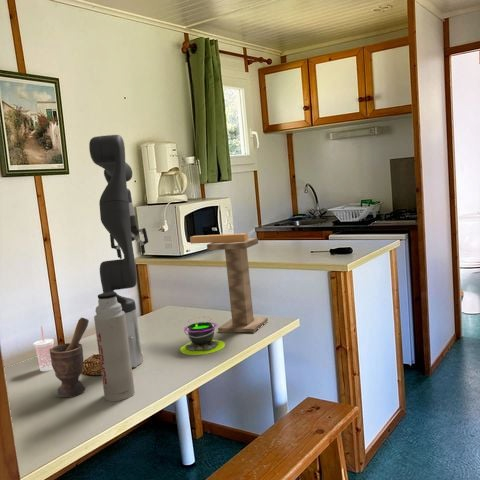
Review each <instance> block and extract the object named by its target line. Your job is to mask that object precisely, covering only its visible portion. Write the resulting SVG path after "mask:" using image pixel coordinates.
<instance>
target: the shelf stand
mask: <svg viewBox="0 0 480 480" xmlns="http://www.w3.org/2000/svg"><path fill="white" fill-rule="evenodd" d="M257 244H259V238H258V237H251V238H249V237H248V240H247V241H240V242H217V243H206V249H207V251H221V250H223V251H224V253H225V264H226V265H225V266H226V274H227V275H226V276H227V282H228V293H229V301H230V302H229V304H230V312H231V315H230V316H231V318H230V319H229V320H228V321H226V322H225V323H223V324H222V325H221V326H219V327H218V328H217V331H218V333H232V332H255V331H256V330H257V329H258V328H260V327H261V326H262V325H263V324H264V323H266V322H267V321H268V317H254V309H253V302H252V301H253V297H252V288H251V280H250V279H251V278H250V270H249V259H248V248H250V247H253V246H256V245H257ZM268 322H269V321H268ZM268 322H267V323H268ZM267 323H266V324H267ZM263 326H264V325H263ZM263 326H262V327H263ZM262 327H261V328H262ZM261 328H260V329H261ZM257 331H258V330H257ZM257 331H256V332H257ZM256 332H255V333H256Z"/></svg>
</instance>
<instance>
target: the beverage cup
mask: <svg viewBox="0 0 480 480" xmlns="http://www.w3.org/2000/svg"><path fill="white" fill-rule="evenodd" d="M43 330H44V329H43V326H40V331H41V338H42V339H39V340H37V341H34V342H33V347H34V349H35V353H36V357H37V361H38V366H39V370H40V372H49V371H52V370H54V369H53V367H52V363H51V356H50V349H51V348H53V347H54V341H55V340H54V338H45V336H44V331H43Z"/></svg>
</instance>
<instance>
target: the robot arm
mask: <svg viewBox="0 0 480 480" xmlns="http://www.w3.org/2000/svg"><path fill="white" fill-rule="evenodd" d="M88 144H89V150H88V151H89V154H90V155H89V156H90V158H91V161H92V162H93V163H94V164H95V165H96V166H98V167H100V168H102V169H103V175H104V179H105V181H106V182H107V183H106V184H107V185H106V187H104V190H103V192H102V194H101V195H100V198H99V202H98V203H99V205H98V206H99V215H100V216H99V217H100V222H101V223H102V226H103V227H104V229H105V230H106V231H107V232H108V233H109V241H110V247H111V249H113V250H116V254H117V255H116V256H117V258H119V259H111V260H105V261H104V260H103V261H101V262H100V264H99V278H100V284H101V289H102V293H107V292H115V291H118V290H125V289H132V288H135V287H136V285H137V281H138V275H137V266H136V261H135V254H134V248H133V242H134V241H136V242H137V243H139V244H140V252H141V256H144V255H145V254H146V249H145V248H146V247H145V245H146V244H148V243H149V238H148V235H147V230H146V227H142V228H139V229H138V225H137V220H136V219H137V218H136V211H135V207H134V204H133V199H132V193H131V190H130V188H128V187H127V186H128V185H127V182H129V181H131V179H132V178H133V170H132V167H131V166H130V164H129V163H128V162H127V161H126V149H125V147H126V145H125V142H124V139H123V137H122V136H121V135H120V134H109V135H107V134H106V135H99V136H94V137H92V138H90V140H89V143H88ZM139 233H140V234H141V235H143V238H144V240H142V239H141V238H140V237H139V236H138V235H139ZM115 242H116V243H117V245H116V244H115ZM122 255H123V256H122ZM116 298H117V302H118V303H120V304H121V307H122V311H124V312H125V318H126V326H127V334H128V342H129V350H130V360H131V367H132V368H137V367H138V366H139V365H141V364H142V363H143V356H142V355H143V353H142V348H141V341H140V332H139V323H138V322H139V321H138V315H137V304H136V302H135V299H133V298H130V297H125V296H122V295H119V294H118V293H117V296H116Z"/></svg>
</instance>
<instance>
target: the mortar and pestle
mask: <svg viewBox="0 0 480 480" xmlns="http://www.w3.org/2000/svg"><path fill="white" fill-rule="evenodd" d="M88 326H89V319H88V318H85V317H80V318H79V319H78V321H77V324H76V327H75V330H74V333H73V337H72V339H71V341H70V342H69V343H67V342H65V343H63V344H62V343H61V344H58V345H55V346H53V348H51V349H50V356H51V363H52V367H53V369H52V370H53V371H54V375H55V377H56V379H58V380H59V381H60V382H61V385H60V386H58V388H57V397H58V398H73V397H75V396H79V395H81V394H82V393H84V392H85V391H86V387H85V385H84V384H83V383H82V382H81V381H79V378H80V376H81V374H82V373H83V367H84V362H85V361H84V351H83V344H81V343H80V341H81V339H82V337H83V335H84V333H85V331H87V328H88Z"/></svg>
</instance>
